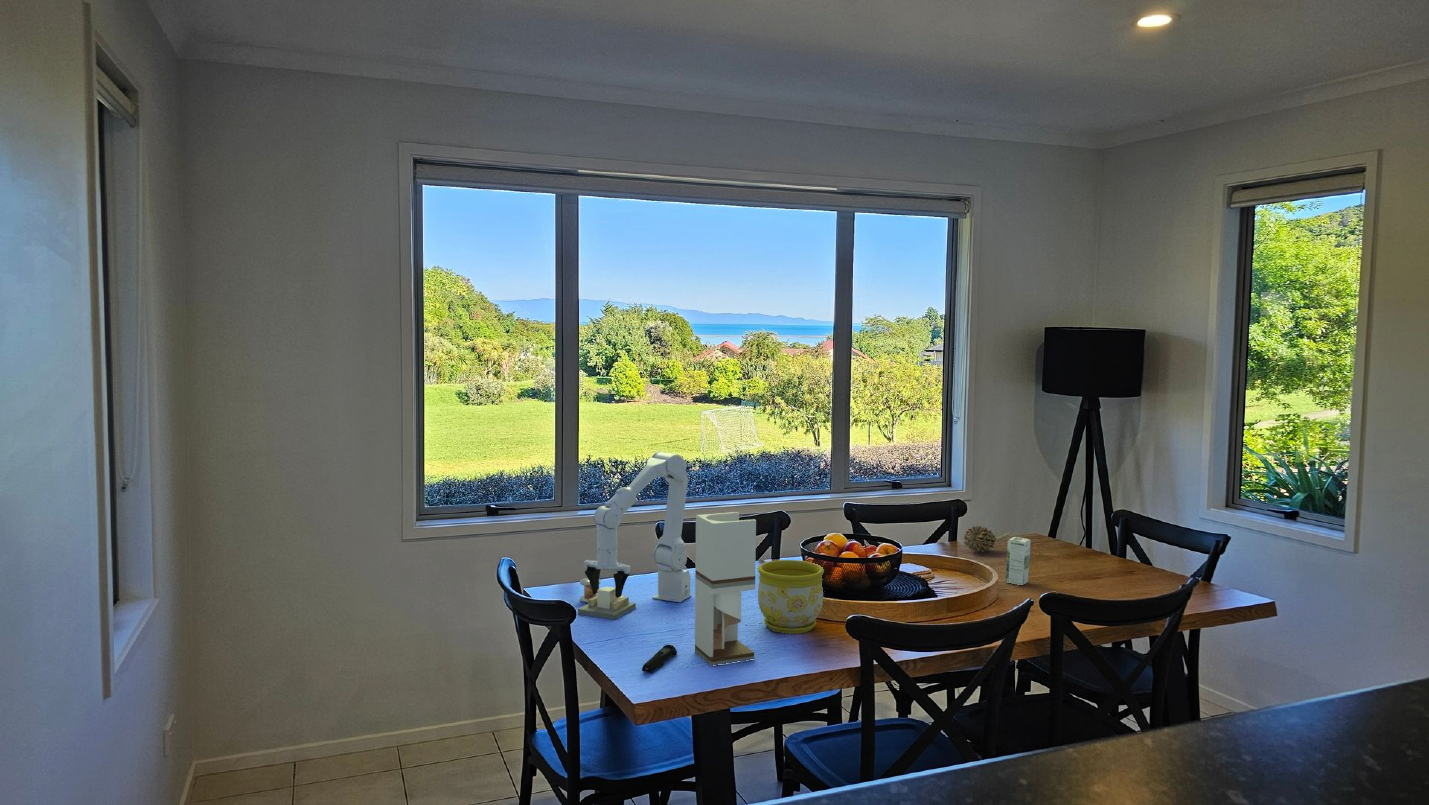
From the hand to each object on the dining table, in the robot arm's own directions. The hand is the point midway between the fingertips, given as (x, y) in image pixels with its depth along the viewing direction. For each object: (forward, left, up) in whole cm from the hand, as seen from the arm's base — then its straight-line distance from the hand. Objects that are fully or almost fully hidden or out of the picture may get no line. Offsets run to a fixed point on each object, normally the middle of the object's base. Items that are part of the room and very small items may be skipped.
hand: (607, 595), depth 263 cm
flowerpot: (-52, -10, -5) cm, 53 cm away
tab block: (0, 0, -3) cm, 3 cm away
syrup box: (-104, -83, -5) cm, 133 cm away
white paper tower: (-45, +19, -5) cm, 49 cm away
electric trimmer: (-33, +30, -5) cm, 45 cm away
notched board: (0, 0, -5) cm, 5 cm away
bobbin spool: (+10, -7, -5) cm, 13 cm away
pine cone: (-89, -124, -5) cm, 153 cm away
